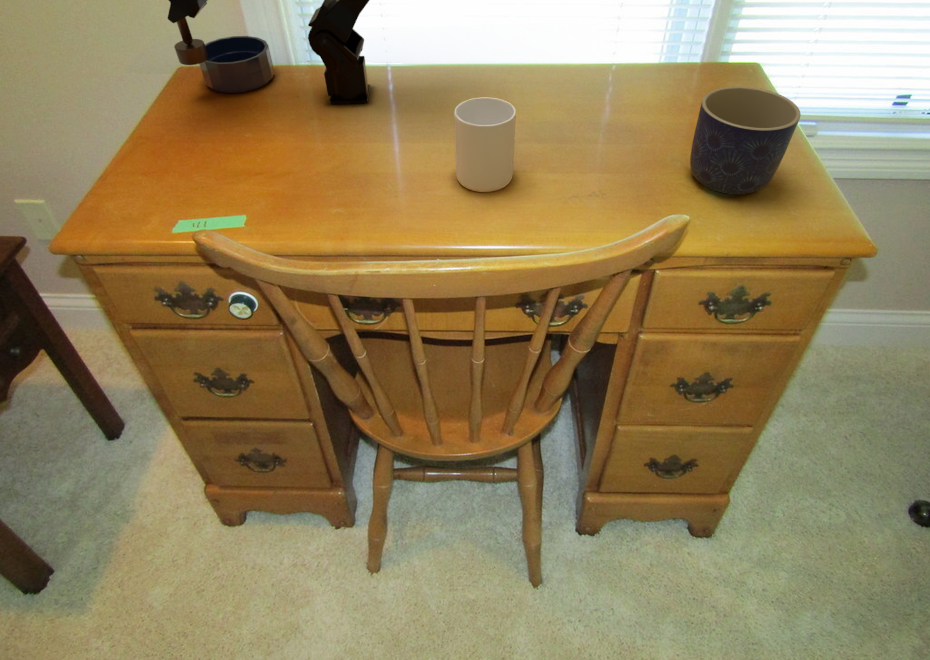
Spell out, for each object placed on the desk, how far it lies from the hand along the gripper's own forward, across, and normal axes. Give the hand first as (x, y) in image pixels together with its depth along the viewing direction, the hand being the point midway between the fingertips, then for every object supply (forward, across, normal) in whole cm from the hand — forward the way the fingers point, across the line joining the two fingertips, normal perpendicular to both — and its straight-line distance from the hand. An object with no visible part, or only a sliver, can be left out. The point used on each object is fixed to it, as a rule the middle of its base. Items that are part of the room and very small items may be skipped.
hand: (172, 18), depth 103 cm
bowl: (+5, -7, +13) cm, 16 cm away
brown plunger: (+4, 0, +6) cm, 7 cm away
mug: (-26, +25, +45) cm, 58 cm away
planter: (-51, +27, +70) cm, 91 cm away
